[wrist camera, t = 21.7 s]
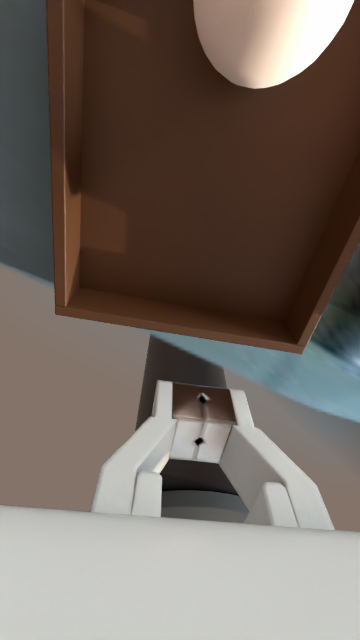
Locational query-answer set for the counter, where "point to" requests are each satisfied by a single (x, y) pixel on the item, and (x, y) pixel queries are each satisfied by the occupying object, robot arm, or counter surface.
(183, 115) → the tray
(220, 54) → the egg
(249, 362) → the counter surface
